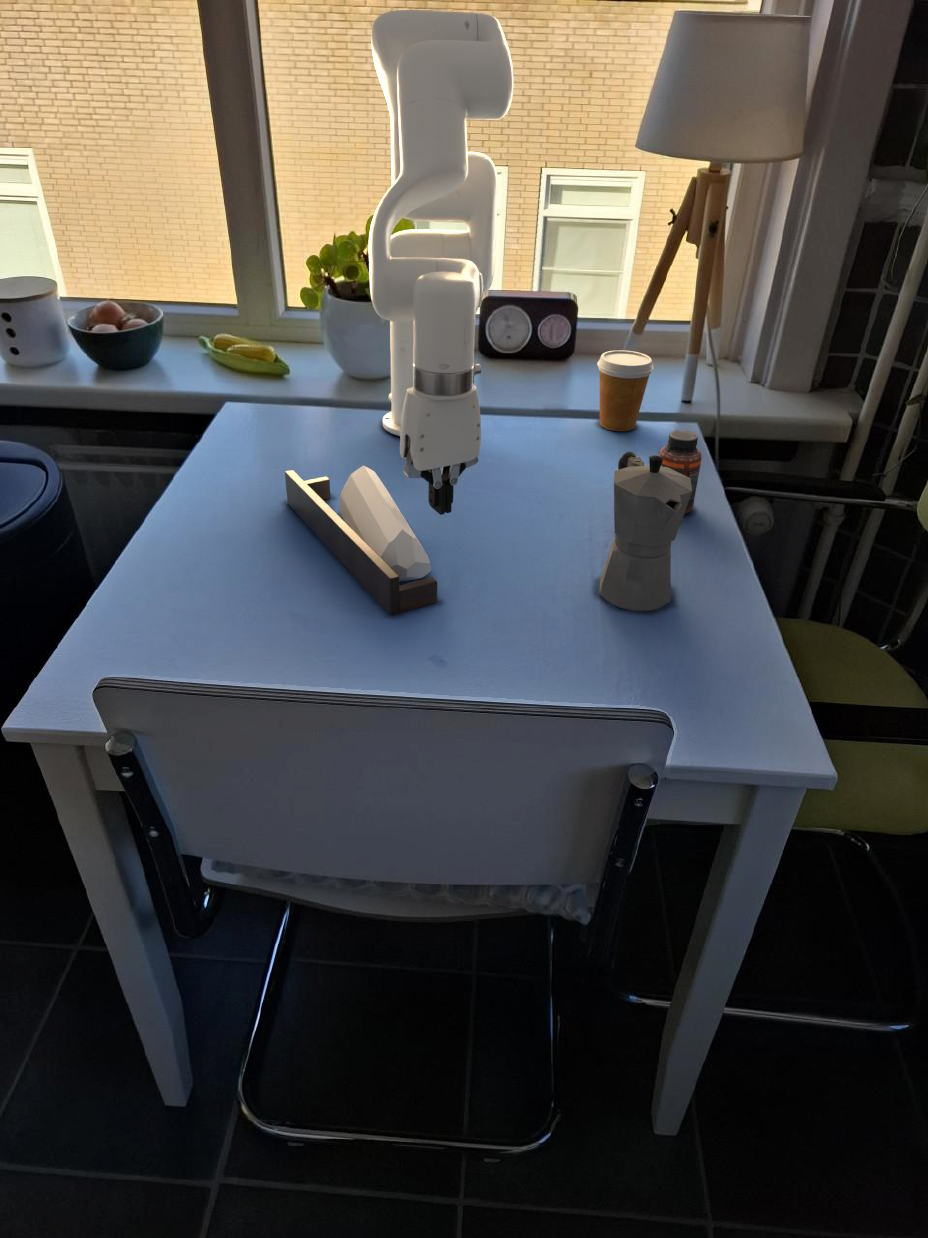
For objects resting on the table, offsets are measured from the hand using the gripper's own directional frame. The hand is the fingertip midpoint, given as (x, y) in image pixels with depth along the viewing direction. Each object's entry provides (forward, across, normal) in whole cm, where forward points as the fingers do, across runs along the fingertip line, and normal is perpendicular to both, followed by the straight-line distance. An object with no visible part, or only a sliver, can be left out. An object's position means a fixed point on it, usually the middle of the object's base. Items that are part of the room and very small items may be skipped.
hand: (440, 509), depth 120 cm
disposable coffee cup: (+3, -47, -20) cm, 51 cm away
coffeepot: (+3, -13, +25) cm, 29 cm away
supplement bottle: (+3, -33, +10) cm, 35 cm away
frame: (+2, +13, +1) cm, 13 cm away
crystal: (+3, +9, +1) cm, 10 cm away
